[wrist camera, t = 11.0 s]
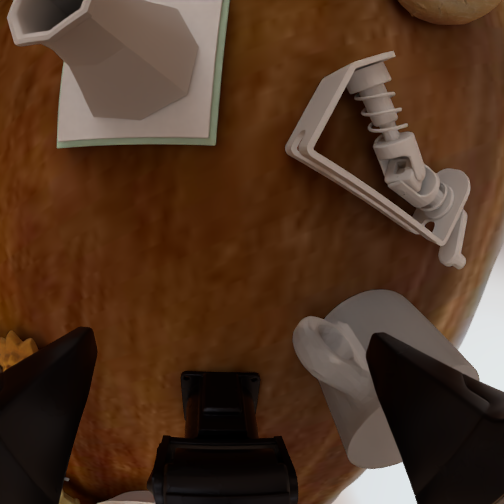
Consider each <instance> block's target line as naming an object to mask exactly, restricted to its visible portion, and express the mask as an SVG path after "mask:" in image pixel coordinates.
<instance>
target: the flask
mask: <svg viewBox="0 0 504 504" xmlns="http://www.w3.org/2000/svg"><path fill="white" fill-rule="evenodd" d="M7 20H8V23H9V27H10V30H11V34H12V37H13V40H14V43H15V45H17V46H28V45H35V44H42V45H45V46H47V47H49V48H51V49H52V50H53V51H54V52H55V53H56V54H57V55H58V56H59V57H60V58H61V59H62V60H63V61H64V62H65V63H66V64H67V65H68V66H69V68H70V70H71V72H72V74H73V76H74V78H75V79H76V81H77V83H78V86H79V88H80V90H81V92H82V94H83V96H84V99H85V101H86V103H87V105H88V107H89V109H90V111H91V113H92V115H93V117H103V118H118V119H130V120H142V119H144V118H145V117H147V116H149V115H151V114H152V113H154V112H156V111H158V110H159V109H161V108H163V107H165V106H167V105H168V104H170V103H172V102H174V101H176V100H178V99H180V98H182V97H184V96H185V95H187V94H188V89H189V84H190V80H191V76H192V71H193V67H194V63H195V59H196V55H197V51H198V45H197V43H196V41H195V39H194V37H193V36H192V34H191V32H190V30H189V28H188V27H187V25H186V23H185V21H184V19H183V18H182V16H181V14H180V12H179V11H178V9H176V8H173V7H169V6H165V5H161V4H156V3H152V2H148V1H145V0H13V3H12V5H11V8H10V11H9V14H8V16H7Z"/></svg>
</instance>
